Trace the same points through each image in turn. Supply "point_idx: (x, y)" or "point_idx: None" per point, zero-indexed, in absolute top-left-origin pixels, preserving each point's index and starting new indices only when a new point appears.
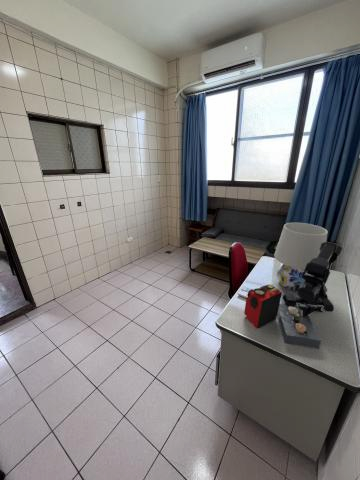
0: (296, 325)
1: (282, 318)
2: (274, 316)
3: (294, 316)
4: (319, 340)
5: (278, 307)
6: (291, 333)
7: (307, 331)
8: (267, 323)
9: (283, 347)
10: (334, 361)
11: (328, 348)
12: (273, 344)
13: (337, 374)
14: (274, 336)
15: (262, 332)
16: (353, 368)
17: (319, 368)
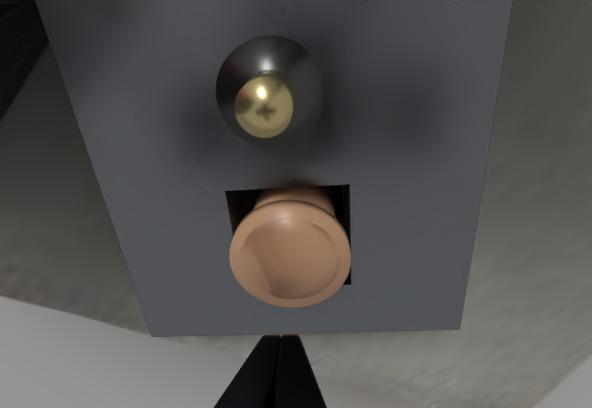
0: (240, 251)
1: (90, 111)
2: (14, 26)
3: (226, 105)
4: (442, 328)
5: None
6: (193, 313)
7: (364, 252)
8: (7, 103)
9: None
10: (492, 328)
11: (517, 239)
12: (108, 297)
13: (456, 392)
14: (106, 228)
15: (7, 213)
16: (589, 347)
17: (369, 382)
